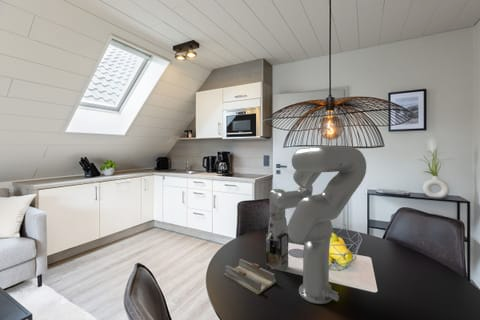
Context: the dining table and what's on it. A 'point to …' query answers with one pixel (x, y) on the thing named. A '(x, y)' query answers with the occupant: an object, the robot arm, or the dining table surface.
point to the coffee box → (278, 253)
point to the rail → (250, 276)
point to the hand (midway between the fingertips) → (277, 251)
